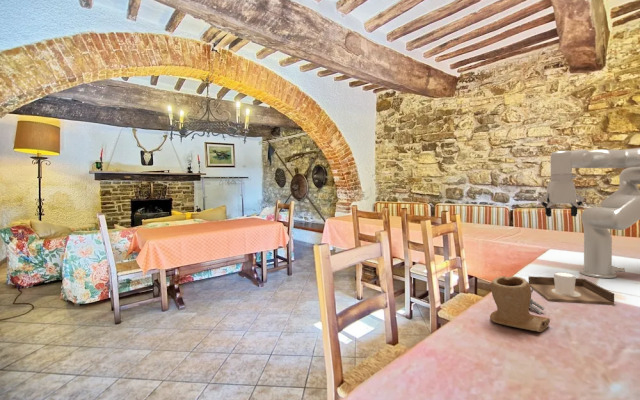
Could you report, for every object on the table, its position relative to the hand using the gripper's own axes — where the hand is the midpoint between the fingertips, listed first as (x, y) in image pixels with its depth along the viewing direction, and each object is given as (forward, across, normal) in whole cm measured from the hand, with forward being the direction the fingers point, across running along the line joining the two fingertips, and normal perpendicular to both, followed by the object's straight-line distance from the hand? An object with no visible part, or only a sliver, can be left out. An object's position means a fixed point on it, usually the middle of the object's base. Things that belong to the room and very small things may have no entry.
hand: (561, 216), depth 137 cm
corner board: (+28, +8, +23) cm, 37 cm away
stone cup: (+29, +36, +56) cm, 72 cm away
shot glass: (+27, +9, +24) cm, 38 cm away
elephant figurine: (+29, +27, +41) cm, 57 cm away
